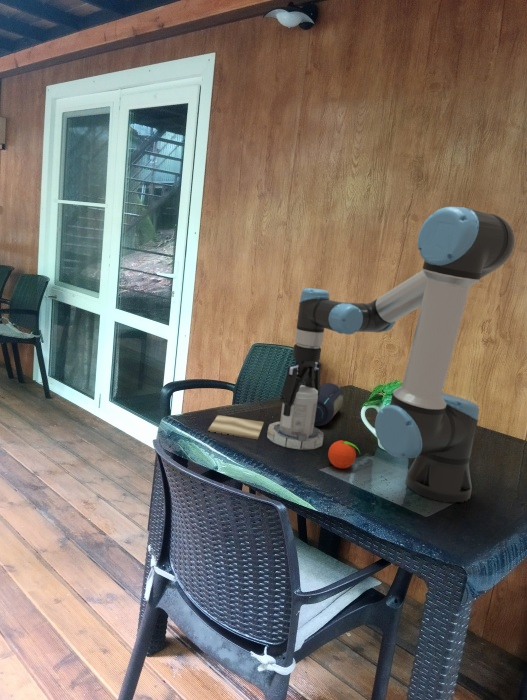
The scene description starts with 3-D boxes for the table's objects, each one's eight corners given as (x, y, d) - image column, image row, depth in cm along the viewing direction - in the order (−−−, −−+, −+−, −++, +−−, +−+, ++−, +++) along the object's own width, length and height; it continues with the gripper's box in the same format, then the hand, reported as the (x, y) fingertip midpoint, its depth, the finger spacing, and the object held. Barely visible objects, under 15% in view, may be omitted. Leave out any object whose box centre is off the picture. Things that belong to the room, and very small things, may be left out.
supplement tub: (296, 431, 167) (302, 383, 165) (318, 442, 160) (326, 392, 158) (271, 435, 161) (277, 385, 159) (293, 447, 154) (300, 394, 151)
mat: (257, 439, 157) (257, 437, 157) (207, 431, 158) (208, 429, 158) (263, 424, 171) (263, 422, 170) (217, 416, 172) (217, 415, 172)
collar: (321, 453, 152) (323, 439, 151) (264, 444, 153) (266, 430, 153) (322, 434, 168) (324, 421, 167) (270, 425, 170) (272, 413, 169)
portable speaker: (328, 432, 171) (333, 400, 169) (296, 425, 174) (300, 393, 172) (343, 412, 194) (348, 383, 192) (315, 406, 197) (319, 378, 195)
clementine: (360, 467, 146) (364, 440, 145) (355, 476, 140) (359, 449, 138) (329, 459, 148) (333, 433, 147) (323, 468, 142) (327, 441, 141)
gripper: (317, 339, 167) (306, 413, 171) (273, 345, 149) (262, 426, 153) (339, 345, 163) (328, 420, 167) (297, 351, 145) (285, 435, 149)
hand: (296, 423), depth 160 cm, fingers closed on supplement tub, 9 cm apart
